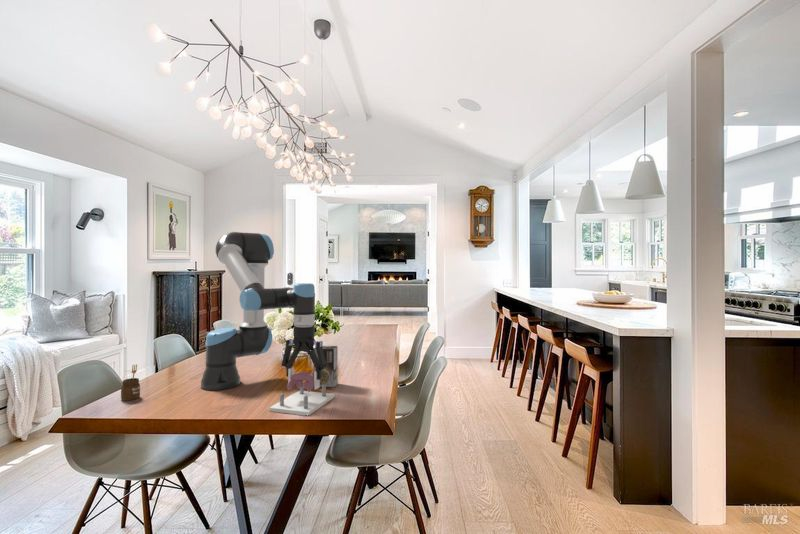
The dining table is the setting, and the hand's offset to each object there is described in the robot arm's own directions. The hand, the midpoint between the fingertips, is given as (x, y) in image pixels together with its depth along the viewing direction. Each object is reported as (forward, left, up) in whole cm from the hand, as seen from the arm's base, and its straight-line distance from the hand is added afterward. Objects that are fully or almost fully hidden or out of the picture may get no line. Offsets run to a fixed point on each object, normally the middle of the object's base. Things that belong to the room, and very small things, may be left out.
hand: (303, 387), depth 142 cm
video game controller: (0, -1, -1) cm, 1 cm away
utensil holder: (-65, -14, -6) cm, 67 cm away
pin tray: (0, 0, -6) cm, 6 cm away
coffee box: (-3, +23, -6) cm, 24 cm away
